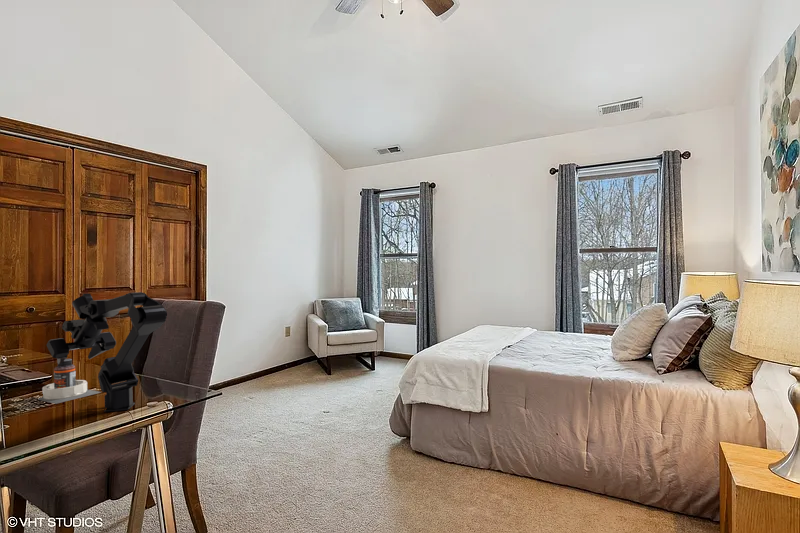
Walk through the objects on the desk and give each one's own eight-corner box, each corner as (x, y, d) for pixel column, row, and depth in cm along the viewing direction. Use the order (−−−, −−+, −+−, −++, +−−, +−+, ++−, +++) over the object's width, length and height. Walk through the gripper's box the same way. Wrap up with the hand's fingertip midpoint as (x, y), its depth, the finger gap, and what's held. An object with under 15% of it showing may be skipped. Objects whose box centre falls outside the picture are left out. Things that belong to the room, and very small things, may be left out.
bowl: (92, 388, 158) (92, 378, 158) (77, 397, 147) (77, 387, 147) (54, 391, 155) (54, 381, 155) (35, 401, 144) (35, 390, 144)
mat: (101, 393, 153) (101, 392, 153) (55, 404, 141) (55, 403, 141) (74, 387, 162) (74, 386, 162) (28, 398, 149) (28, 397, 149)
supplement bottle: (50, 395, 147) (49, 362, 147) (60, 390, 153) (59, 358, 153) (70, 394, 148) (69, 361, 148) (79, 389, 154) (78, 357, 154)
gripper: (110, 309, 154) (94, 338, 159) (48, 314, 138) (32, 347, 143) (124, 332, 150) (107, 361, 155) (62, 340, 134) (45, 373, 139)
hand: (74, 360), depth 148 cm, fingers open, 9 cm apart
